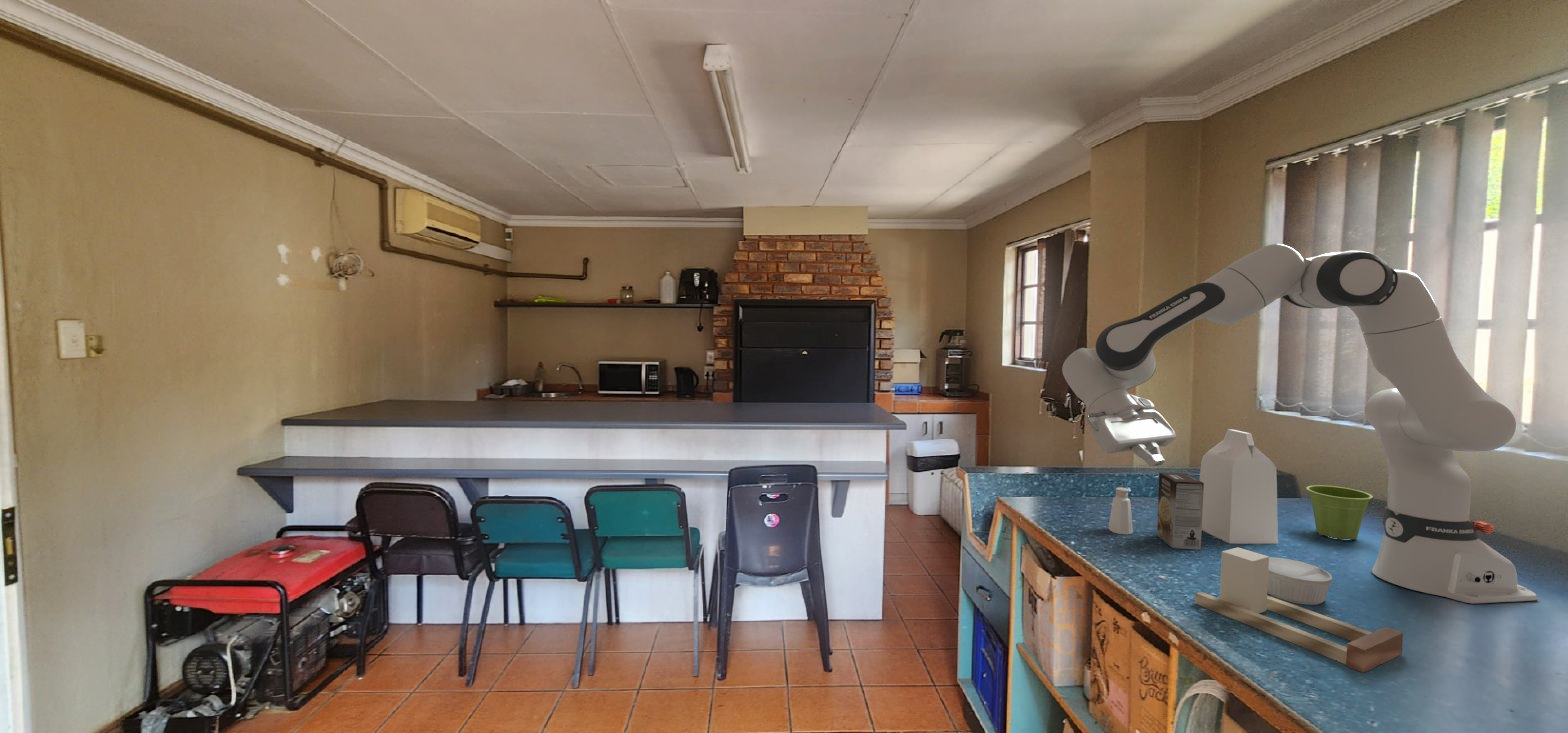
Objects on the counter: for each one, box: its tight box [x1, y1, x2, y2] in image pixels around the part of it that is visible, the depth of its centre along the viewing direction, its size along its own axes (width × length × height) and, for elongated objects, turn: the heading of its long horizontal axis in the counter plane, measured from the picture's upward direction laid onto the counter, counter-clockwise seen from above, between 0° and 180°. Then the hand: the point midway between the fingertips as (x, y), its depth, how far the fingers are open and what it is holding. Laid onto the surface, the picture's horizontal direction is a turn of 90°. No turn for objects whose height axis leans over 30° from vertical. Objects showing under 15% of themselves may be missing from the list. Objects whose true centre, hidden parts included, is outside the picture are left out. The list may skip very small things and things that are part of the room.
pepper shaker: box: [1108, 487, 1134, 535], centre depth 147 cm, size 5×5×11 cm
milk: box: [1199, 428, 1279, 545], centre depth 144 cm, size 12×12×26 cm
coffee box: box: [1156, 471, 1204, 551], centre depth 139 cm, size 9×6×16 cm
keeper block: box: [1219, 546, 1270, 614], centre depth 106 cm, size 5×5×10 cm
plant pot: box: [1305, 484, 1374, 540], centre depth 143 cm, size 12×12×11 cm
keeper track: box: [1194, 591, 1404, 674], centre depth 100 cm, size 24×12×4 cm, turn 24°
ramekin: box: [1267, 556, 1334, 606], centre depth 112 cm, size 11×11×5 cm
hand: (1158, 464), depth 120 cm, fingers closed
